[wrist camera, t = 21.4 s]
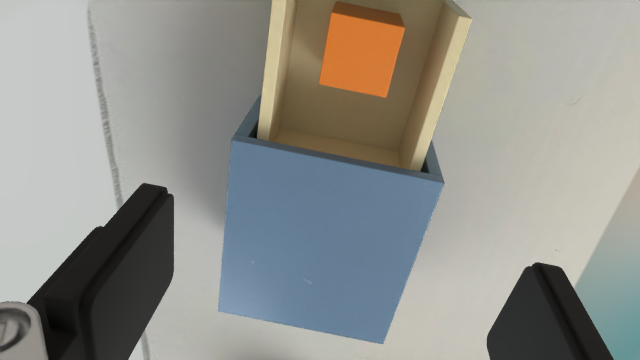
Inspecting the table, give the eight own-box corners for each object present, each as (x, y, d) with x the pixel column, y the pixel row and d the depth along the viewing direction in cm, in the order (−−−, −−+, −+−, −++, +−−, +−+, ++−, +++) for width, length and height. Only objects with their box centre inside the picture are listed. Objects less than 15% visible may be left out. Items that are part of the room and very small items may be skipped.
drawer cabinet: (260, 93, 35) (230, 139, 27) (428, 127, 35) (445, 182, 27) (244, 243, 43) (217, 311, 35) (380, 271, 43) (383, 344, 36)
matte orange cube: (324, 65, 31) (318, 84, 27) (336, 0, 29) (331, 11, 25) (384, 77, 31) (386, 98, 27) (400, 13, 29) (405, 27, 25)
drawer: (299, -194, 25) (278, -232, 19) (514, -150, 25) (559, -174, 19) (262, 126, 35) (241, 166, 29) (414, 157, 35) (422, 203, 29)
